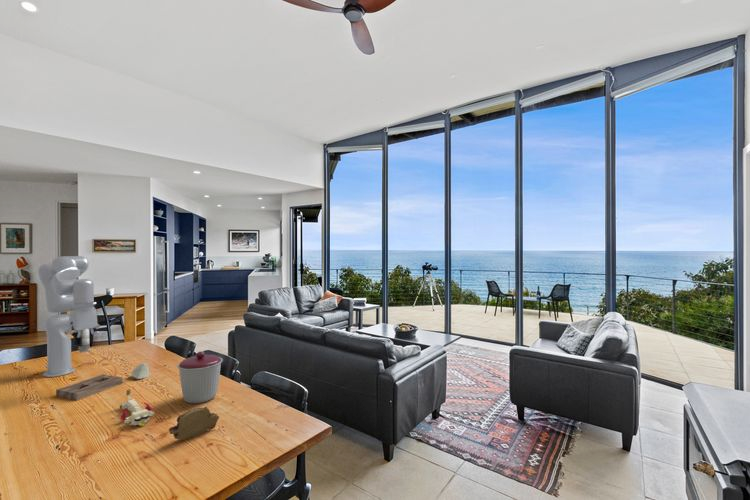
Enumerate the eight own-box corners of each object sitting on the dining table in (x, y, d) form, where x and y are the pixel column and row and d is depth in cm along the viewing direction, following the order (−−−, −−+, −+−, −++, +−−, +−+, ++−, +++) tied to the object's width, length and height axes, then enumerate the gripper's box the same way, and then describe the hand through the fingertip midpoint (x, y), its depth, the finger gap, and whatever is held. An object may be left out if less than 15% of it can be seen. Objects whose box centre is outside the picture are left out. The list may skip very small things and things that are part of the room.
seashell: (152, 368, 185) (153, 364, 180) (144, 384, 180) (145, 380, 175) (135, 364, 182) (136, 360, 177) (127, 380, 177) (128, 377, 172)
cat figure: (113, 414, 141) (126, 431, 124) (112, 392, 142) (126, 406, 125) (141, 405, 149) (158, 421, 132) (141, 385, 149) (157, 398, 132)
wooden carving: (214, 424, 130) (214, 398, 130) (220, 428, 127) (219, 402, 127) (166, 443, 117) (166, 415, 117) (171, 448, 114) (171, 419, 114)
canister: (204, 409, 142) (204, 359, 142) (167, 405, 146) (167, 356, 146) (230, 391, 160) (230, 347, 160) (197, 388, 163) (197, 345, 163)
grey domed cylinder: (76, 352, 161) (76, 327, 161) (85, 350, 165) (85, 325, 165) (82, 353, 160) (82, 327, 160) (91, 350, 164) (91, 325, 164)
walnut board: (56, 396, 155) (56, 389, 155) (102, 380, 174) (102, 374, 174) (77, 400, 151) (77, 393, 151) (122, 383, 170) (122, 377, 170)
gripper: (96, 303, 172) (97, 339, 171) (57, 308, 156) (57, 348, 155) (107, 303, 169) (107, 340, 169) (69, 309, 153) (69, 349, 153)
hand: (83, 343), depth 162 cm, fingers closed on grey domed cylinder, 4 cm apart
